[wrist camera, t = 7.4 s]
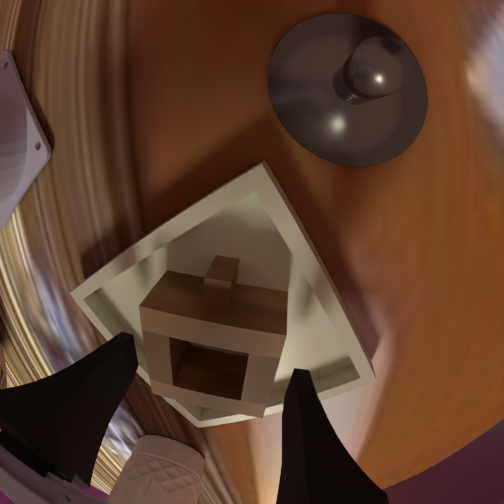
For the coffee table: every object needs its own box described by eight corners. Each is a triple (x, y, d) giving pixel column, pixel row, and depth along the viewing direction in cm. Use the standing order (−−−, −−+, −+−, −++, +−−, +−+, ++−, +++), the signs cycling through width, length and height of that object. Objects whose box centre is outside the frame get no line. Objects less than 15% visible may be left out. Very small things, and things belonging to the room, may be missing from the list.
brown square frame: (170, 355, 15) (152, 393, 13) (166, 246, 12) (136, 278, 10) (267, 374, 15) (262, 417, 12) (293, 267, 12) (293, 308, 9)
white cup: (224, 455, 21) (203, 548, 12) (194, 472, 24) (173, 544, 15) (143, 420, 20) (103, 513, 11) (128, 443, 23) (97, 515, 14)
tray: (84, 280, 14) (69, 293, 13) (264, 159, 11) (261, 164, 9) (202, 411, 18) (197, 427, 17) (371, 360, 14) (376, 380, 13)
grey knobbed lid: (237, 57, 9) (209, 21, 5) (370, 0, 7) (402, -46, 3) (321, 192, 11) (338, 225, 7) (446, 129, 9) (506, 136, 5)
